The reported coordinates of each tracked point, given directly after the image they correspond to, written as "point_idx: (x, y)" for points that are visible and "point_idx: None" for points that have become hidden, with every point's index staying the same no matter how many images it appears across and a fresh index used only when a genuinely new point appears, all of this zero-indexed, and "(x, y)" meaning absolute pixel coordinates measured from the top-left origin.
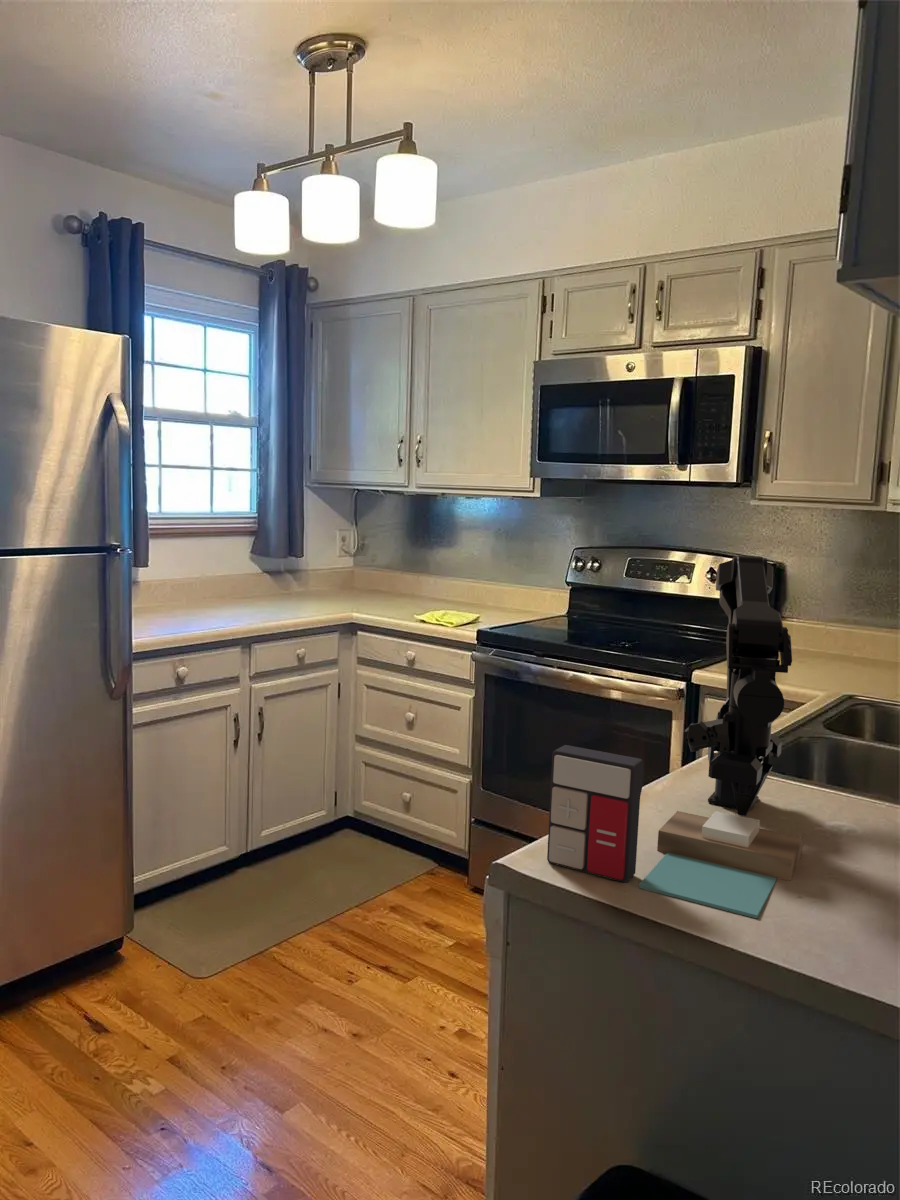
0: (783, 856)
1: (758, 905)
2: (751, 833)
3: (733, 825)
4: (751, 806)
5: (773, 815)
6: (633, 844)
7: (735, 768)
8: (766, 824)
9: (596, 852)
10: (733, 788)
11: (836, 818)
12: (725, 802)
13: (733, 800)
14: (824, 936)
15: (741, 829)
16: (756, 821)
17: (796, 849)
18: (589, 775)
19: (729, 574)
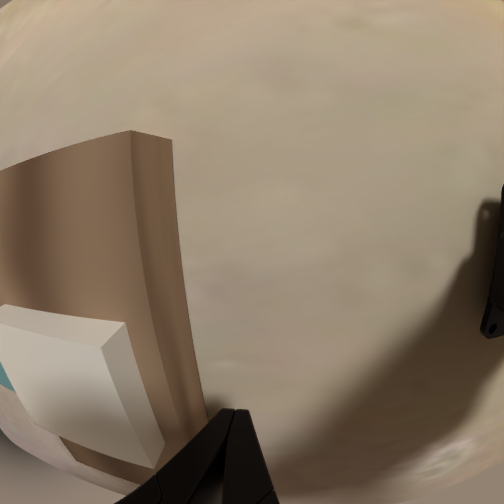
0: (76, 454)
1: (5, 383)
2: (55, 432)
3: (48, 401)
4: (495, 336)
5: (492, 363)
6: None
7: None
8: (427, 376)
9: None
10: (131, 494)
11: (488, 438)
12: (498, 258)
13: (500, 294)
14: (27, 431)
15: (47, 416)
16: (134, 460)
17: (127, 479)
18: None
19: None
